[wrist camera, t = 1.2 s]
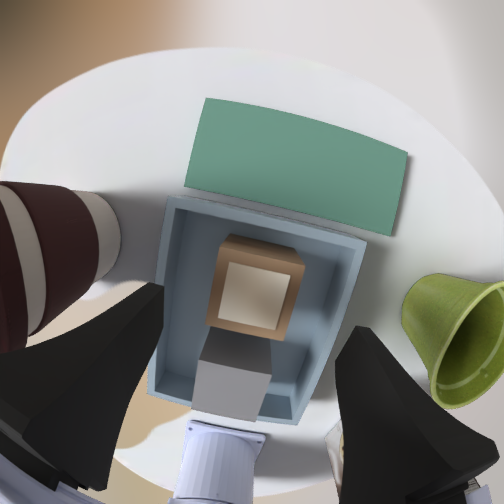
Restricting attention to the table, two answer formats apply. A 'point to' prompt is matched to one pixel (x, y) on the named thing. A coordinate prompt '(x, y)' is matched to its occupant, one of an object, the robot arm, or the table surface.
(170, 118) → the table surface
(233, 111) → the mat
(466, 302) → the plant pot
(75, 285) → the coffee cup
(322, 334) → the bin
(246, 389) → the plain block
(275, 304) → the labelled block
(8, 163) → the table surface
